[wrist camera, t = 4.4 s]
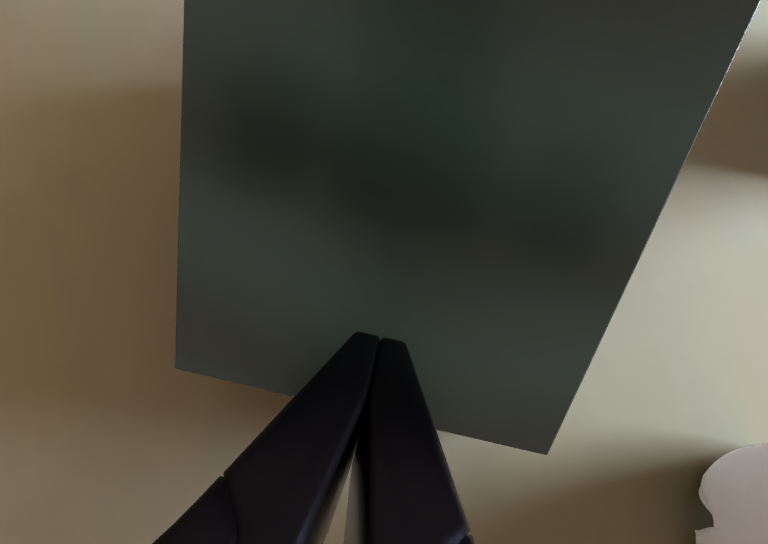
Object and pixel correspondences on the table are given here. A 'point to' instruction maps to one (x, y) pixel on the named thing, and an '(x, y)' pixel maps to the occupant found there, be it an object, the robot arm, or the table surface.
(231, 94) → the cover
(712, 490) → the water bottle
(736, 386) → the table surface
